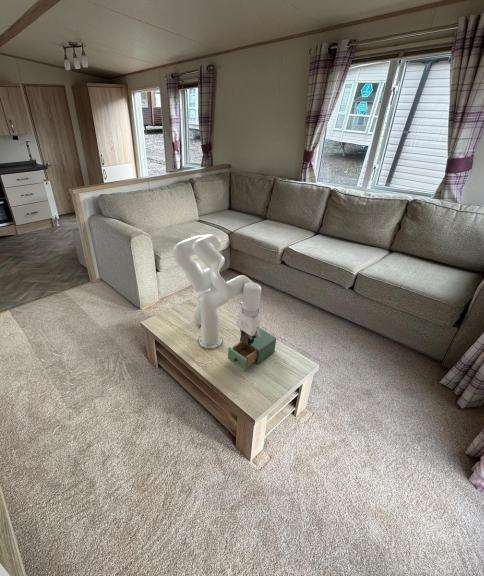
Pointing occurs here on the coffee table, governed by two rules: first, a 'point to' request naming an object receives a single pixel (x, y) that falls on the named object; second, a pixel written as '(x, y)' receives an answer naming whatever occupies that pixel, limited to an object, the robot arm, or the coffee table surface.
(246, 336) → the block
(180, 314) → the coffee table surface
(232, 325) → the coffee table surface
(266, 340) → the cabinet
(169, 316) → the coffee table surface
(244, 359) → the drawer
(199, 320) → the soap bottle
